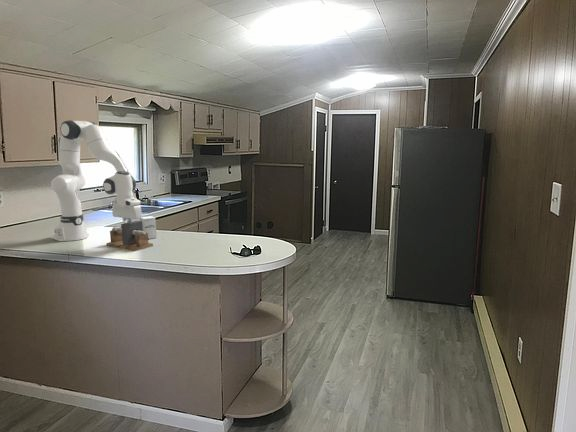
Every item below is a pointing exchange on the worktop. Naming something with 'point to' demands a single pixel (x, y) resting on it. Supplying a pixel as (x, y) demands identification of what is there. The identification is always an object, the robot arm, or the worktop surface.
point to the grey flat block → (130, 231)
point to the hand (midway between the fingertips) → (127, 225)
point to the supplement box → (149, 226)
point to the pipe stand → (140, 244)
